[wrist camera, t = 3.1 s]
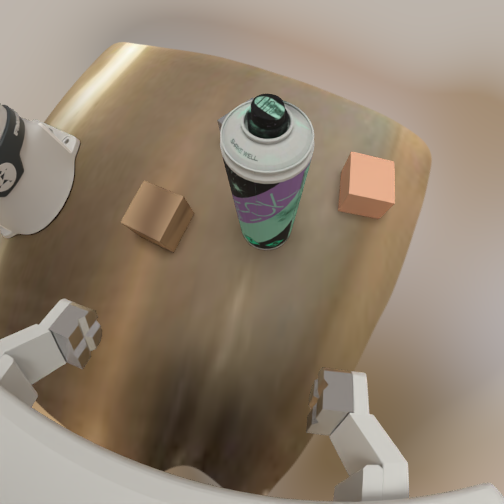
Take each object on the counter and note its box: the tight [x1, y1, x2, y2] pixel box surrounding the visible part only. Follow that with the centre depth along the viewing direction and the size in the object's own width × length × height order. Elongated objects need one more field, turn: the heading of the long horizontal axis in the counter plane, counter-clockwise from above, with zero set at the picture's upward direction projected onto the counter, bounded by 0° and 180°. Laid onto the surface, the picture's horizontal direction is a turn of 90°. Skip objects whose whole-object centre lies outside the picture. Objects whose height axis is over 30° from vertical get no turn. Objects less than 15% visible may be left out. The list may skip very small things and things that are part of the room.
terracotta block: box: [338, 152, 395, 219], centre depth 31 cm, size 5×5×5 cm
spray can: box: [220, 94, 314, 250], centre depth 23 cm, size 6×6×20 cm
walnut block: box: [121, 181, 194, 253], centre depth 31 cm, size 5×5×5 cm
